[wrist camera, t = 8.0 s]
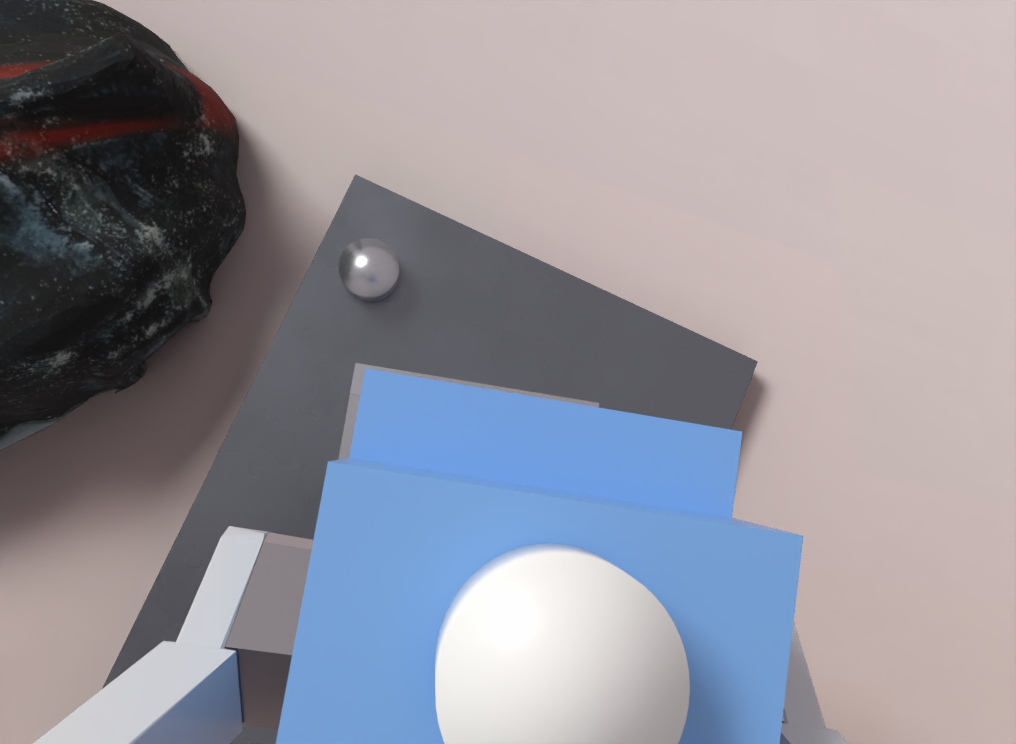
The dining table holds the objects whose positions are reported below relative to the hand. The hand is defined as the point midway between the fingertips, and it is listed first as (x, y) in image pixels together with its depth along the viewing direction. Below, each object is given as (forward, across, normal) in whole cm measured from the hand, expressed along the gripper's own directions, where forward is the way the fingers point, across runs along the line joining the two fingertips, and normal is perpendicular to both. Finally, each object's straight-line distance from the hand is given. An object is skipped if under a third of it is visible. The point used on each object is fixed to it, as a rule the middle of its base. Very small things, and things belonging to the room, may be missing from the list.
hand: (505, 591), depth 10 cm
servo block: (+3, 0, +4) cm, 4 cm away
